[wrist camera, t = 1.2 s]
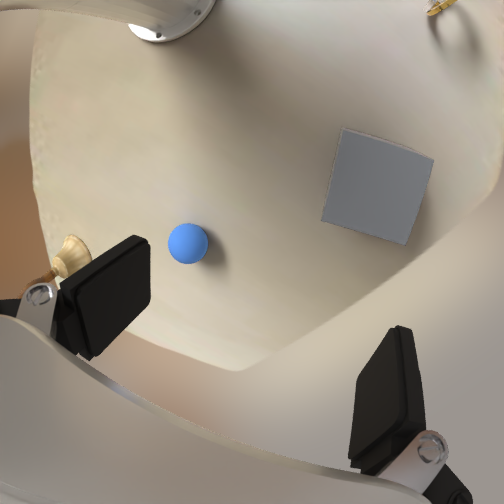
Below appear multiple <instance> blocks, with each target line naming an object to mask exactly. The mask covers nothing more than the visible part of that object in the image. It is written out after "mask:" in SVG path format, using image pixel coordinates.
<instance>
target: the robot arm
mask: <svg viewBox="0 0 504 504" xmlns="http://www.w3.org/2000/svg"><path fill="white" fill-rule="evenodd" d="M214 3H215V0H0V11H7V10H18V9H39V10H53V11H63V12H71V13H78V14H84V15H90V16H96V17H101V18H106V19H111V20H115V21H120V22H124V23H128V25H129V27H130V29H131V31H132V32H133V33H134V34H135V35H136V36H137V37H139V38H141V39H143V40H147V41H151V42H166V41H171V40H174V39H176V38H179V37H181V36H183V35H185V34H187V33H188V32H190V31H191V30H193V29H194V28H195V27H197V26H198V25H199V24H200V23H201V22H202V21H203V20H204V19H205V17H206V16H207V15H208V14H209V12H210V11H211V9H212V7H213V5H214ZM200 13H201V14H200ZM150 249H151V248H150V245H149V244H148V241H147V240H146V239H145V238H142V237H139V236H137V235H132V236H130V237H128V238H127V239H125V240H124V241H122V242H120V243H119V244H117V245H116V246H114V247H113V248H111V249H109V250H108V251H106V252H105V253H103V254H102V255H100V256H99V257H97V258H96V259H94V260H93V261H91V262H90V263H88V264H87V265H85V266H84V267H82V268H81V269H79V270H78V271H76V272H75V273H73V274H72V275H71V276H69V277H68V278H66V279H65V280H63V281H62V282H61V283H59V284H60V288H61V289H59V290H58V291H57V289H56V287H55V286H54V285H52V284H50V283H37V284H34V285H32V286H31V287H29V288H28V289H27V290H26V291H25V292H24V294H23V297H22V298H20V299H6V300H0V504H473V499H472V495H471V493H470V492H469V490H468V489H467V488H466V487H465V486H464V484H463V483H462V482H461V481H460V480H459V479H458V478H457V476H456V475H455V474H454V473H453V472H452V471H451V469H450V468H449V467H448V466H447V465H446V464H445V462H446V460H447V458H448V453H449V451H448V445H447V443H446V440H445V439H444V438H443V436H442V435H440V434H439V433H438V432H436V431H433V430H426V420H425V409H424V400H423V399H424V398H423V390H422V382H421V375H420V371H419V367H418V361H417V354H416V349H415V343H414V337H413V332H412V330H411V329H409V328H406V327H402V326H399V325H397V326H396V327H395V328H390V329H389V331H388V332H387V334H386V335H385V337H384V338H383V340H382V342H381V343H380V345H379V346H378V348H377V350H376V351H375V352H374V354H373V355H372V357H371V358H370V360H369V361H368V363H367V364H366V366H365V367H364V368H363V370H362V371H361V373H360V374H359V376H358V378H357V381H356V392H355V403H354V413H353V422H352V431H351V438H350V445H349V452H348V458H349V459H351V465H350V467H351V468H358V469H361V473H360V474H359V473H354V472H349V471H344V470H338V469H334V468H329V467H324V466H320V465H316V464H312V463H308V462H304V461H300V460H296V459H292V458H288V457H285V456H282V455H278V454H275V453H271V452H268V451H265V450H261V449H259V448H256V447H253V446H250V445H247V444H244V443H241V442H239V441H236V440H233V439H231V438H228V437H226V436H223V435H220V434H218V433H215V432H213V431H210V430H208V429H206V428H203V427H201V426H199V425H197V424H194V423H192V422H190V421H187V420H186V419H183V418H181V417H179V416H177V415H175V414H173V413H171V412H169V411H167V410H165V409H163V408H161V407H159V406H157V405H155V404H153V403H151V402H150V401H148V400H146V399H144V398H142V397H140V396H138V395H137V394H135V393H133V392H132V391H129V390H128V389H126V388H125V387H123V386H121V385H120V384H118V383H116V382H115V381H113V380H112V379H110V378H108V377H107V376H105V375H104V374H102V373H101V372H99V371H97V370H96V369H94V368H93V367H91V366H90V365H89V364H87V363H86V362H84V361H83V360H81V359H80V358H78V357H77V356H76V355H77V354H78V353H79V354H80V355H81V356H82V357H84V358H85V359H87V360H88V361H90V360H91V359H92V358H93V357H94V356H95V357H96V356H98V355H100V354H101V353H102V352H103V350H104V349H105V348H107V347H108V345H109V344H110V343H111V342H112V341H113V340H114V339H115V338H116V337H117V336H118V335H119V334H120V333H121V332H122V331H123V330H124V329H125V328H126V327H127V326H128V325H129V324H130V323H131V322H132V321H133V320H134V319H135V318H136V317H137V316H138V315H139V314H140V313H141V312H142V311H143V310H144V309H145V308H146V307H147V306H148V305H149V303H150V299H151V289H150Z"/></svg>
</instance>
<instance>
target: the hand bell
mask: <svg viewBox="0 0 504 504" xmlns="http://www.w3.org/2000/svg"><path fill="white" fill-rule="evenodd" d="M91 261H92V258H91V255H90V252H89V250H88V248H87V247H86V245H85V244H84V243H83V242H82V241H81V240H80V239H79V238H78V237H76V236H74V235H69V236H67V237H66V238H65V240H64V243H63V248H62V250H61V251H60V252H59V253H58V254H57V255H56V256H55V257H54V258H53V261H52V264H53V268H51V269H50V270H49V271H48V272H47V273H46V274H45V275H43V276H42V277H41V278H38V279H35V280H33V281H31V282H30V283H28V284H27V285H26V286H25V287H24V288H23V289H22V291H21V293H20V295H19V296H18V297H17V299H20V298H22V297H23V294H24V292H25V291H26V290H27V289H28V288H29V287H31V286H32V285H34V284H37V283H48V282H50V281H51V280H52V279H54V278H55V277H56V276H58V275H59V276H60V277H61V278H67V277H69V276H71V275H72V274H73V273H75V272H76V271H78V270H79V269H81V268H82V267H84V266H85V265H87V264H88V263H90V262H91Z"/></svg>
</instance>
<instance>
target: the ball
mask: <svg viewBox="0 0 504 504" xmlns="http://www.w3.org/2000/svg"><path fill="white" fill-rule="evenodd" d="M168 248H169V251H170V253H171V255H172V256H173V258H174V259H176V260H177V261H179V262H181V263H184V264H192V263H195V262H197V261H199V260H201V259H202V258H203V256H204V255H205V254H206V251H207V248H208V239H207V236H206V234H205V232H204V231H203V230H202V229H201V228H200V227H199V226H197V225H194V224H189V223H188V224H182V225H179V226H178V227H176V228H175V229H174V230H173V231H172V233H171V234H170V236H169V240H168Z"/></svg>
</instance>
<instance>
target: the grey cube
mask: <svg viewBox="0 0 504 504" xmlns="http://www.w3.org/2000/svg"><path fill="white" fill-rule="evenodd" d="M433 163H434V160H433V159H431V158H429V157H427V156H425V155H423V154H421V153H419V152H417V151H415V150H413V149H411V148H408V147H405V146H403V145H400V144H397V143H394V142H391V141H388V140H385V139H382V138H378V137H375V136H372V135H369V134H365V133H362V132H358V131H355V130H351V129H348V128H344V127H341V132H340V136H339V141H338V146H337V150H336V155H335V159H334V163H333V168H332V172H331V176H330V180H329V185H328V189H327V193H326V197H325V203H324V208H323V214H322V219H321V221H323V222H327V223H331V224H334V225H338V226H341V227H345V228H348V229H352V230H355V231H359V232H362V233H365V234H369V235H372V236H375V237H379V238H382V239H385V240H389V241H392V242H395V243H398V244H401V245H405V246H406V243H407V241H408V238H409V236H410V233H411V230H412V228H413V225H414V222H415V219H416V217H417V214H418V211H419V208H420V205H421V202H422V199H423V196H424V193H425V190H426V187H427V183H428V180H429V177H430V173H431V170H432V166H433Z"/></svg>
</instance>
